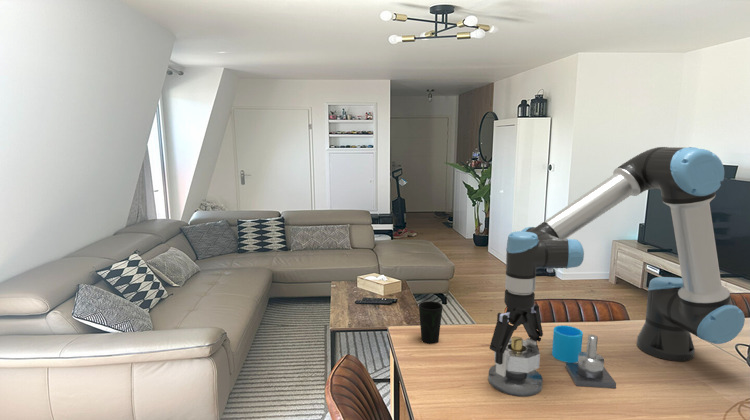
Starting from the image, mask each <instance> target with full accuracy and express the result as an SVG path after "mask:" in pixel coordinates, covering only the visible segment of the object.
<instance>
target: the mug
mask: <svg viewBox="0 0 750 420" xmlns="http://www.w3.org/2000/svg"><path fill="white" fill-rule="evenodd" d="M583 334H584V332H583V330H581V329H579V328H578V327H575V326H570V325H564V324H562V325H556V326H554V327H553V335H552V348H551V349H552V351H551V355H552V357H553V358H554V359H556V360H558V361H560V362H563V363H566V362H568V363H578V354H579V353H580V352H582V349H583V338H584V337H583V336H584V335H583Z"/></svg>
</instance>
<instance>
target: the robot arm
mask: <svg viewBox="0 0 750 420" xmlns="http://www.w3.org/2000/svg"><path fill="white" fill-rule="evenodd" d="M612 173H613V174H612V175H611V176H610V177H608V178H606V179H605V180H603V181H602V182H600V183H599V184H597V185H596V186H595V187H593V188H592V189H590V190H589V191H587V192H586V193H584V194H583V195H581V196H580V197H579V198H577V199H575V200H573V202H571V203H569V204H568V205H566V206H565V207H564V208H562V209H561V210H559V211H558V212H556V213H555V214H553V215H552V216H551V217H548V219H545V220H544V221H542V222H541V223H540V224H538V225H537V226H535V227H534V226H528V227H525V228H523V229H522V230H520V231H516V230H515V231H512V232H510V233H509V234H508V236H507V242H506V247H505V250H506V256H505V258H506V263H505V283H504V284H505V286H504V287H505V290H504V304H505V305H506V311H505V312H503V313H502V312H498V313H497V315H496V316H497V317H496V324H495V327H494V331H493V334H492V338H491V342H490V345H489V349H490V350H491V351H493V352H496V354H495V357H494V363H495V362H496V373H498V374H499V375H501V376H503V377H504V376H506V356H507V353H506V352H504V351H505V349H506V347H507V345H508V343H509V341H510V338H512V337H513V333H514V332H515V331H516V330H517V329H518V327H520V326H521V325H523V328H524V330H525V332H526V333H527V335H528V338H527V337H526V338H525V339H526V341H528V342H531V343H533V344H535V345H537V346H538V342H541V341H542V337H543V336H544V331H543V328H542V323H541V318H540V314H539V312H540V306H539V305H537V304H535V298H536V297H535V291H536V280H537V278H536V276H537V270H538V269H570V268H571V269H572V268H578V267H580V266H581V265H582V264H583V262H584V258H585V251H584V250H585V249H584V247H583V244H582V243H581V242H580V241H579V240H578V239H573V238H572V239H571V238H569V237H571V236H572V235H574V234H575V233H577V232H578V231H580V230H581V229H583V228H584V227H586V226H587V225H589V224H590V223H592V222H593V221H595V220H597V219H598V218H599V217H601V216H602V215H604V214H605V213H607V212H608V211H610V210H611V209H613V208H614V207H616V206H617V205H618V204H620V203H622V202H623V201H625V200H626V199H627V198H629V197H630V196H633V197H637V196H639V195H640V194H642V193H644V192H646V191H649V190H654V189H656V190H660V193H661V200H662V203H663V204H665V205H666V206H669V208H670V213H671V218H672V226H673V231H674V237H675V242H676V243H675V245H676V249H677V251H676V252H677V256H678V262H679V268H680V275H681V277H673V276H670V277H669V276H658V277H654V278H652V279H651V280H650V281H649V285H648V289H647V297H646V298H647V301H646V311H645V313H646V314H645V320H644V324H643V326H642V328H641V330H640V332H639V333H638V335H637V338H636V346H637V347H638V348H639V349H640V351H642V352H643V353H645V354H648V355H649V356H652V357H656V358H658V359H659V358H660V359H663V360H667V361H675V362H685V361H690V360H693V359H694V357H695V349H696V348H695V346H694V341H693V338H692V335H694V336H695V337H697V338H699V339H700V340H703V341H707V342H708V343H711V344H714V345H722V344H725V343H729V342H731V341H733V340H734V339H735V338H737V337H738V335H739V334H740V333H741V331H742V330H743V329H744V325H745V318H746V317H745V314H744V311H742V309H740V308H739V307H738V306H737V305H735V304H732V299H731V294H730V290H729V289H728V288H726V286H724V285H722V279H721V273H720V267H719V266H720V265H719V260H718V252H717V245H716V239H715V231H714V225H713V218H712V211H711V205H710V203H711V201H712V200H714V199H715V197H716V195H717V194H716V193H717V192H716V191H718V190H719V189H720V187H721V186H722V184H721V182H724V180H725V179H724V178H725V167H724V164H723V162H722V160H721V159H720V157H719V156H718V155H717V154H716V153H713V152H712V151H710V150H708V149H705V148H699V147H692V146H688V147H676V146H675V147H669V146H658V147H654V148H650V149H647V150H645V151H643V152H641V153H639V154H637V155H636V156H633V157H632V158H630V159H629V160H627V161H625V162H624V163H622V164H621V165H619V166H618V167H616V168H615V169H613V172H612ZM691 334H692V335H691Z"/></svg>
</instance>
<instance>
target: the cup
mask: <svg viewBox="0 0 750 420" xmlns="http://www.w3.org/2000/svg"><path fill="white" fill-rule="evenodd" d="M418 312H419V313H418V314H419V323H420V324H419V325H420V326H419V327H420V335H421V336H420V337H421V342H422V341H423V342H422V343H424V344H426V343H427V344H428V345H435V344H437V343H439V341H440V340H439V339H440V331H441V324H442V323H441V321H442V315H443V304H441V303H440V302H437V301H431V300H430V301H427V300H426V301H422V302H420V303H419V304H418Z"/></svg>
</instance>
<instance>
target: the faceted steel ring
mask: <svg viewBox="0 0 750 420" xmlns="http://www.w3.org/2000/svg"><path fill="white" fill-rule="evenodd" d="M522 339H523V342H522V352H516V351H512V350H511V342H512V337H511V338H510V341H509V343H508V345H507V347H506V349H505V351H504V352H506V353H507V356H506V370H508V371H515V372H524V373H528V372H531V371H533V370H538V369H539V368H540V359H541V352H540V350H539V347H538V344H537V345H535V344H533V343H531V342H528V341H526V340H525V339H524V338H522ZM493 352H494V351H493ZM495 354H496V352H494V356H493V357H494V358H495ZM494 363H495V364H496V362H495V361H494ZM495 364H494V365H495Z"/></svg>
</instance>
